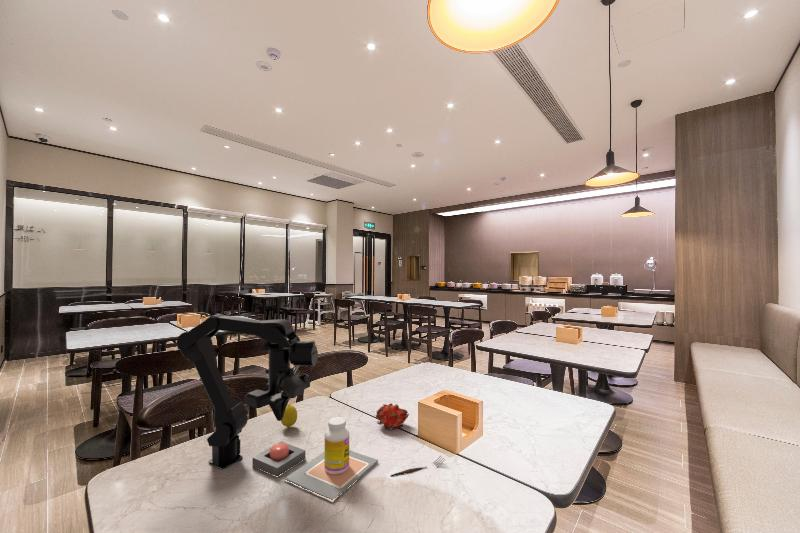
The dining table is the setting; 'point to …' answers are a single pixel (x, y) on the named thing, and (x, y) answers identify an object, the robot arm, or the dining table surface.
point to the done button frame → (279, 467)
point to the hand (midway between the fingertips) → (279, 420)
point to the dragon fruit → (391, 416)
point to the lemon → (289, 416)
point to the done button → (279, 451)
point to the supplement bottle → (336, 446)
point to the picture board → (331, 475)
